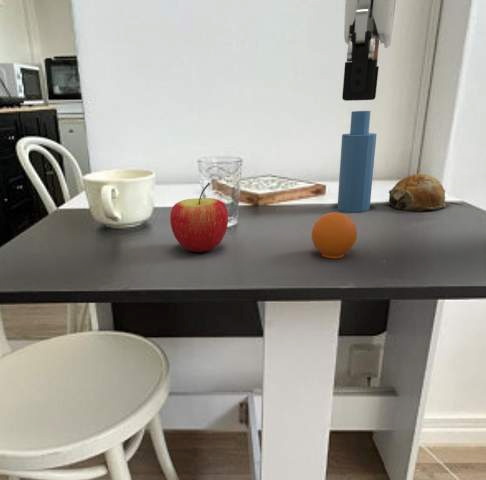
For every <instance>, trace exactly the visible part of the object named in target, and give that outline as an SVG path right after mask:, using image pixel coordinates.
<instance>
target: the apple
mask: <svg viewBox="0 0 486 480" xmlns="http://www.w3.org/2000/svg"><path fill="white" fill-rule="evenodd" d="M210 185H211V182H208V183H207V184H206V185H205V186H204V188H203V189H202V190H201V193H200V195H199V197H197V198H188V199H187V198H186V199H183V200H180V201H177V202H176V203H175V204H173V206H172V207H171V210H170V216H169V217H170V218H169V220H170V228H171V231H172V234H173V236H174V238H175V240H176V241H177V243H179V245H180V246H181V247H183V248H184V249H185V250H187V251H190V252H194V253H205V252H209V251H211V250H213V249H215V248H217V247H218V246H219V245H220V244H221V243H222V241H223V239H224V237H225V236H226V235H225V234H226V233H227V230H228V224H229V211H228V208H227V206H226V203H224V202H223V201H222V200H220V199H217V198H213V197H202V196H203V194H204V192H205V190H206V189H207V188H208V187H209V186H210Z"/></svg>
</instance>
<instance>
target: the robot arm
mask: <svg viewBox="0 0 486 480" xmlns="http://www.w3.org/2000/svg"><path fill="white" fill-rule="evenodd" d="M344 1H345V2H344V3H345V4H344V26H343V27H344V30H343V31H344V35H343V38H344V42H345V44H346V45H347V52H346V61H345V62H344V69H343V70H344V72H343V73H344V74H343V83H342V95H341V96H342V97H341V98H342V100H343V101H345V102H347V101H348V102H349V101H350V102H351V101H373V100H375V99H376V97H377V86H378V80H379V79H378V77H379V68H380V66H378V62H379V48H380V44H383V46H384V48H385V49H387V48H389V47H390V46H391V45H392V35H393V26H394V18H395V9H396V3H397V0H344Z"/></svg>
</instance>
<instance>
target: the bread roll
mask: <svg viewBox="0 0 486 480" xmlns="http://www.w3.org/2000/svg"><path fill="white" fill-rule="evenodd" d="M388 194H389V195H388V196H389V197H388V202H389V205H390V206H392V208H395V209H398V210H403V211H413V212H424V211H439V210H441V209H445V208H446V206H447V205H446V190H445V189H444V186H443V183H442V182H441V181H440V180H439V179H438V178H437V177H434V176H432V175H430V174H427V173H415V174H411V175H408V176H406V177H403V178H402V179H400V180H399V181H398V182H396V183H395V185H394V186H393V187H392V188H391V189H390V190H389V191H388Z"/></svg>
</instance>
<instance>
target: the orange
mask: <svg viewBox="0 0 486 480" xmlns="http://www.w3.org/2000/svg"><path fill="white" fill-rule="evenodd" d="M357 237H358V230H357V226H356V224H355V222H354V221H353V220H352V219H351V218H350V217H349V216H348V215H346V214H344V213H341V212H336V211H335V212H334V211H333V212H327V213H324V214H323V215H322V216H320V217H319V218H318V219H317V220H316V221H315V222H314V224H313V226H312V229H311V240H312V241H311V242H312V244H313V246H314V247H315V249H316V250H317V251H318V252H320V253H321V256H322V257H323V258H327V259H332V260H333V259H341V258H343V257H344V256H345V254H346V253H348V252H349V251H350V250H351V249H353V247H354V245H355V244H356V241H357Z"/></svg>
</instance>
